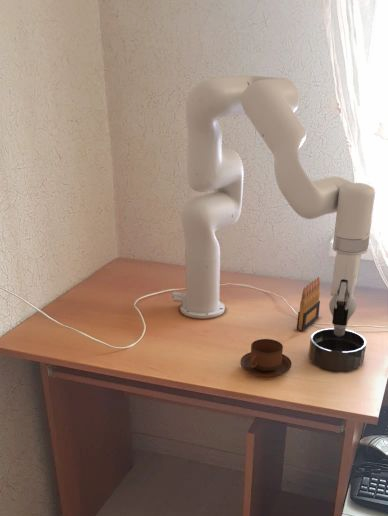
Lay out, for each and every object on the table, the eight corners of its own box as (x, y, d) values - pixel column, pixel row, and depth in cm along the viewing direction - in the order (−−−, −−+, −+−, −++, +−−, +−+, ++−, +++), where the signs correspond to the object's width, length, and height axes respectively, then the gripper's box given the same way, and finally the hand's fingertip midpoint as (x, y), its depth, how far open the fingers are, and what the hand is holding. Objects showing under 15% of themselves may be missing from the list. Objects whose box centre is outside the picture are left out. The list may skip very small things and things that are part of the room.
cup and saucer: (283, 385, 142) (285, 361, 139) (233, 375, 146) (233, 352, 143) (296, 362, 151) (298, 339, 148) (249, 353, 155) (250, 331, 152)
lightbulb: (346, 344, 145) (352, 300, 140) (321, 338, 148) (326, 294, 142) (355, 334, 150) (361, 291, 144) (331, 328, 153) (336, 286, 147)
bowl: (304, 368, 149) (306, 347, 146) (313, 345, 159) (315, 325, 156) (360, 376, 145) (363, 355, 142) (365, 352, 156) (368, 332, 153)
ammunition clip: (302, 331, 166) (306, 289, 160) (296, 330, 167) (300, 287, 161) (318, 317, 174) (323, 276, 168) (312, 316, 175) (316, 275, 168)
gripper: (338, 230, 145) (329, 303, 155) (327, 253, 131) (319, 331, 141) (371, 233, 143) (361, 306, 153) (364, 257, 129) (353, 336, 139)
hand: (341, 318), depth 146 cm, fingers closed on lightbulb, 6 cm apart
